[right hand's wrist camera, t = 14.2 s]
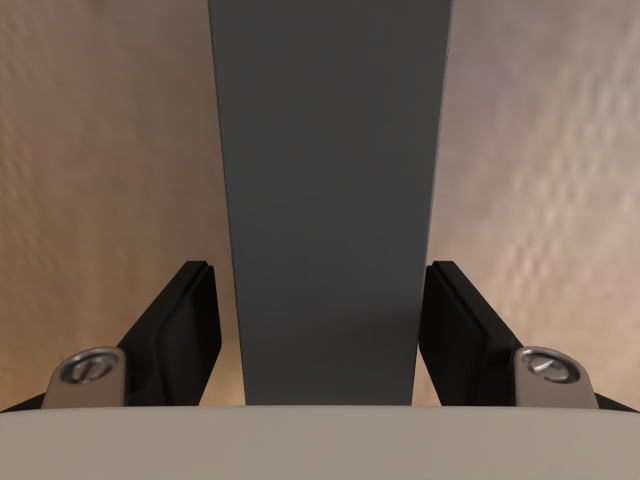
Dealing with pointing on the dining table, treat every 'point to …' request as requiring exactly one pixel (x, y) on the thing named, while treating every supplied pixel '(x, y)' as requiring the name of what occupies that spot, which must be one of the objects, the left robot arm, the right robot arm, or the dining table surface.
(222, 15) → the post
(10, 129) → the dining table surface
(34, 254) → the dining table surface
